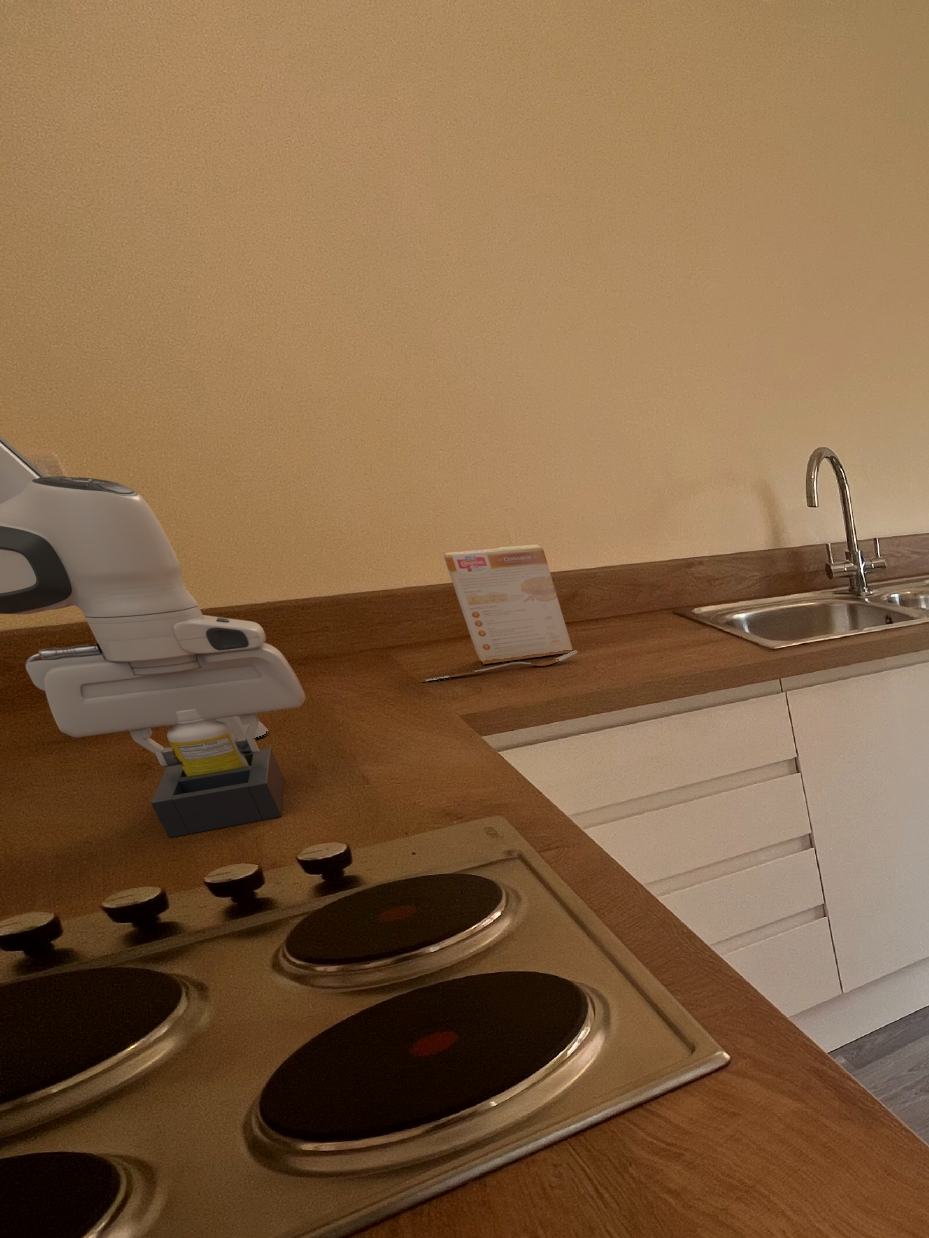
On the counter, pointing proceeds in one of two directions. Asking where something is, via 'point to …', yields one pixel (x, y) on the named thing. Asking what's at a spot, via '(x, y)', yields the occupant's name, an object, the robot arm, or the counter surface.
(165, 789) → the holder
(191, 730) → the supplement bottle
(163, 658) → the robot arm
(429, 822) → the counter surface
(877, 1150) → the counter surface
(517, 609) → the coffeecake box
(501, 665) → the fork
